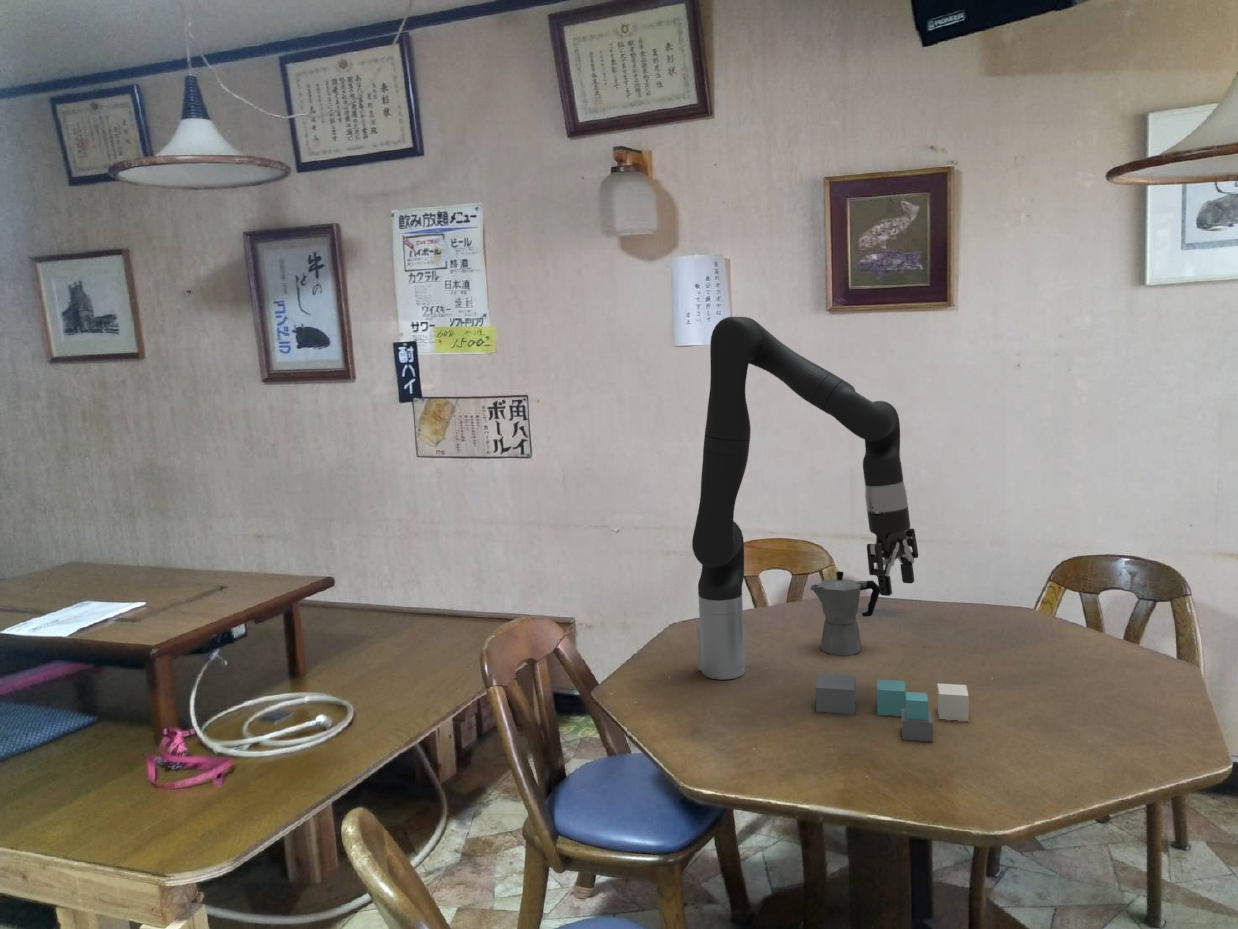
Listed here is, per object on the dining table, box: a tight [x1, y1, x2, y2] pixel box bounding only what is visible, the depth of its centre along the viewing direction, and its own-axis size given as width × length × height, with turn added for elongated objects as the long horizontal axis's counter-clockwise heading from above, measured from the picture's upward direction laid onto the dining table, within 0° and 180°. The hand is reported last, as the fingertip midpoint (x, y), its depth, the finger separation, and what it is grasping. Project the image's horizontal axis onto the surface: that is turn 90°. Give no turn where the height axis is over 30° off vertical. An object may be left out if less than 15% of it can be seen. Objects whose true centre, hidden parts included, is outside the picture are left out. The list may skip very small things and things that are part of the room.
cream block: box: [937, 683, 970, 722], centre depth 163 cm, size 5×5×5 cm
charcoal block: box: [815, 673, 857, 715], centre depth 169 cm, size 7×7×5 cm
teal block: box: [876, 679, 907, 717], centre depth 166 cm, size 5×5×5 cm
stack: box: [901, 691, 934, 742], centre depth 155 cm, size 5×5×7 cm
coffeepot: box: [809, 571, 881, 657], centre depth 198 cm, size 15×9×18 cm, turn 87°
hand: (897, 588), depth 170 cm, fingers open, 8 cm apart
